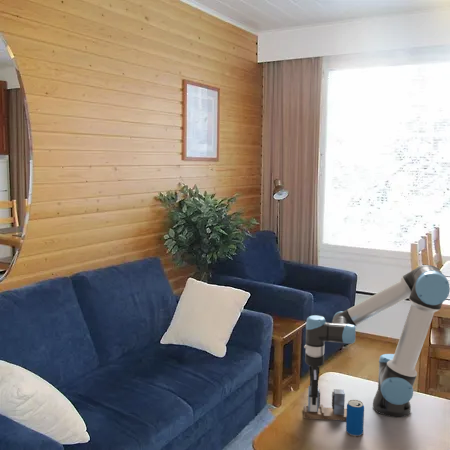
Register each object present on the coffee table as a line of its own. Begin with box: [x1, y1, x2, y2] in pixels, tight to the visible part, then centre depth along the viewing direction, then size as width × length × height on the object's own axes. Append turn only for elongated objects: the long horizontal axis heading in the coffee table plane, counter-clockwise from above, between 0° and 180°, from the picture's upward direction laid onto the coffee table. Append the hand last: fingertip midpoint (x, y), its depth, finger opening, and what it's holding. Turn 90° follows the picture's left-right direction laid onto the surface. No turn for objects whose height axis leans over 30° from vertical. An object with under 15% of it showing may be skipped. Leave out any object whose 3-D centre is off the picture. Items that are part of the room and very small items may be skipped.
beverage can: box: [345, 399, 365, 437], centre depth 196 cm, size 6×6×12 cm
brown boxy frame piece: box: [303, 388, 347, 422], centre depth 209 cm, size 18×7×10 cm, turn 84°
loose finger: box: [307, 385, 321, 412], centre depth 210 cm, size 5×4×9 cm
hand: (313, 408), depth 210 cm, fingers closed on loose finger, 4 cm apart
